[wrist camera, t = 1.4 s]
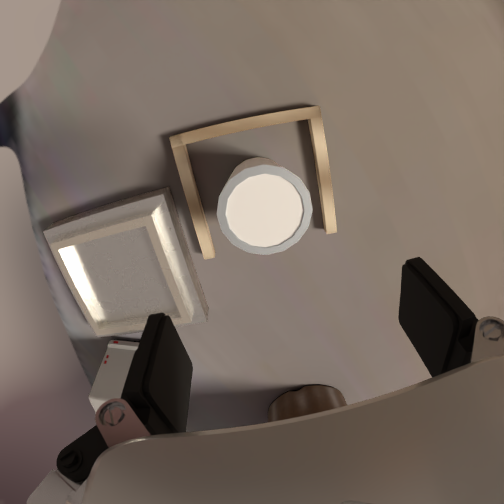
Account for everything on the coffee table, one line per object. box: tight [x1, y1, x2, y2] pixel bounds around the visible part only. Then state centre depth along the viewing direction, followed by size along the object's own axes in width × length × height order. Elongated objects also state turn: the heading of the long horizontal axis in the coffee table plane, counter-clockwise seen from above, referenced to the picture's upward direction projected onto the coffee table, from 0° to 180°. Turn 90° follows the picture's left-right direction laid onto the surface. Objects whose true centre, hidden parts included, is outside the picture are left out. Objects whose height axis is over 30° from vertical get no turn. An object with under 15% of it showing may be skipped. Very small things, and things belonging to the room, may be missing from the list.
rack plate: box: [43, 187, 209, 337], centre depth 29 cm, size 14×14×4 cm
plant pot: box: [268, 385, 347, 422], centre depth 37 cm, size 16×16×16 cm
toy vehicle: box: [88, 340, 139, 412], centre depth 35 cm, size 9×18×10 cm, turn 176°
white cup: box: [217, 157, 313, 255], centre depth 25 cm, size 7×7×7 cm
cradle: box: [169, 106, 337, 260], centre depth 27 cm, size 12×13×1 cm
